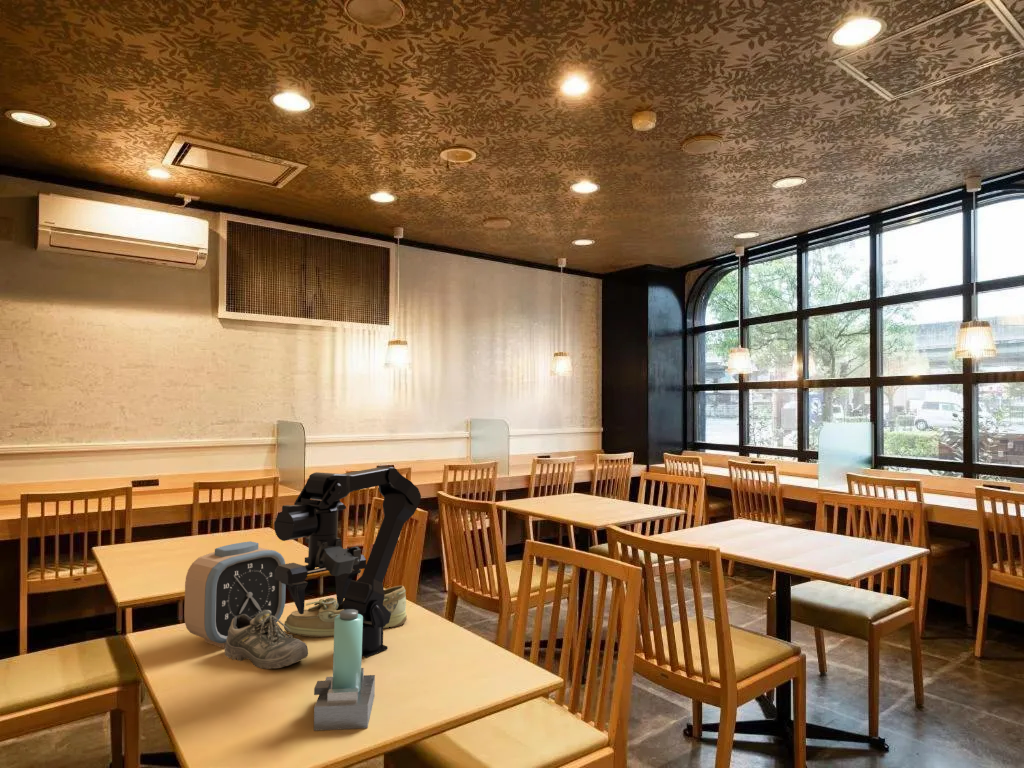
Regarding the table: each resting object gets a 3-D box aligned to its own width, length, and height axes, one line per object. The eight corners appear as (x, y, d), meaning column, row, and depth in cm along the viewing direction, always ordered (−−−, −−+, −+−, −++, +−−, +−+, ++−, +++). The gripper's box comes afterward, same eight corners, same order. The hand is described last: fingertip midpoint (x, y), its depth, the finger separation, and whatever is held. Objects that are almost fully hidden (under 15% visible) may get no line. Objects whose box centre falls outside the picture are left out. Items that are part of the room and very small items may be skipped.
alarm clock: (208, 656, 140) (210, 557, 140) (183, 646, 145) (185, 551, 145) (285, 628, 157) (287, 540, 158) (261, 621, 162) (263, 536, 163)
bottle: (341, 681, 118) (343, 606, 119) (365, 685, 117) (368, 609, 117) (326, 693, 114) (329, 614, 114) (351, 697, 112) (354, 618, 113)
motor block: (321, 698, 121) (322, 667, 121) (374, 696, 122) (375, 665, 122) (308, 730, 109) (309, 696, 109) (367, 728, 110) (368, 694, 110)
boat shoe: (281, 629, 157) (282, 591, 158) (399, 614, 170) (400, 578, 170) (285, 644, 147) (286, 604, 148) (410, 627, 160) (411, 589, 160)
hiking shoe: (284, 668, 129) (300, 607, 135) (206, 663, 136) (225, 605, 143) (311, 675, 136) (325, 617, 142) (236, 670, 144) (252, 615, 150)
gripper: (305, 545, 121) (302, 628, 120) (383, 532, 135) (381, 606, 134) (274, 537, 128) (271, 616, 127) (351, 525, 142) (349, 596, 141)
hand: (321, 608), depth 132 cm, fingers open, 9 cm apart
